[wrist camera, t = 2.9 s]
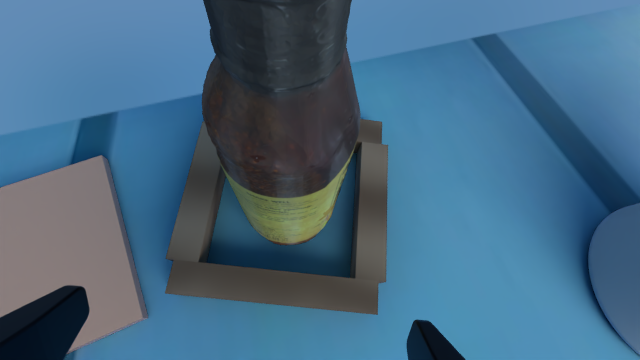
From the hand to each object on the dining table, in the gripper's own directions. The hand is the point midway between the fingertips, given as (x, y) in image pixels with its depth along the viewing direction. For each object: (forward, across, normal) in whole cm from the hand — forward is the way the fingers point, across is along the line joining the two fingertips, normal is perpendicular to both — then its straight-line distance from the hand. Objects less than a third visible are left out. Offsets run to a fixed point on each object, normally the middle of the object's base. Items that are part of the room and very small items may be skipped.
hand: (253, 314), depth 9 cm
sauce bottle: (+15, 0, +4) cm, 15 cm away
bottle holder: (+14, 0, +4) cm, 15 cm away
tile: (+10, +16, +9) cm, 21 cm away
